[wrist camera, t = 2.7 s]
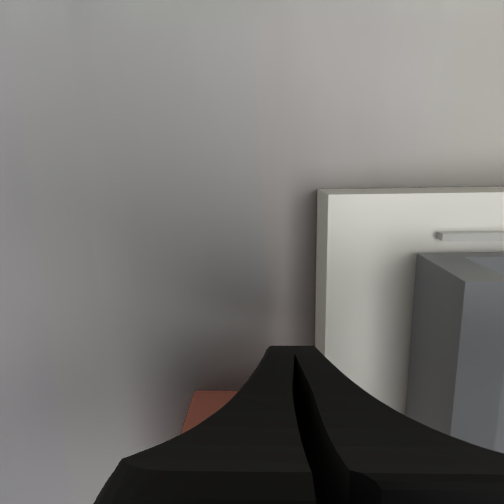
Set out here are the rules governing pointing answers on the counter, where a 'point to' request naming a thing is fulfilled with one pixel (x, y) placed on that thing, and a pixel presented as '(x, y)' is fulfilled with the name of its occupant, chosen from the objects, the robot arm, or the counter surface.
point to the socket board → (388, 271)
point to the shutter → (458, 346)
